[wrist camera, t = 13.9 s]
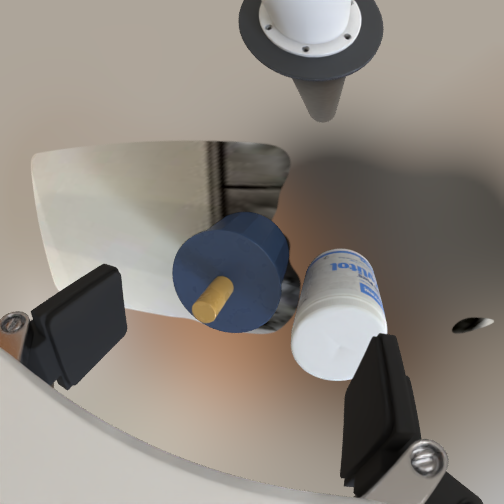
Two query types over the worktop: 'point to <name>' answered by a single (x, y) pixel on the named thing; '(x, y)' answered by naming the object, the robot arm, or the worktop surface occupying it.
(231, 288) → the lid
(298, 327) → the supplement tub
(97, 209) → the worktop surface
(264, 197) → the worktop surface
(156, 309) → the worktop surface
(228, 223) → the tin
